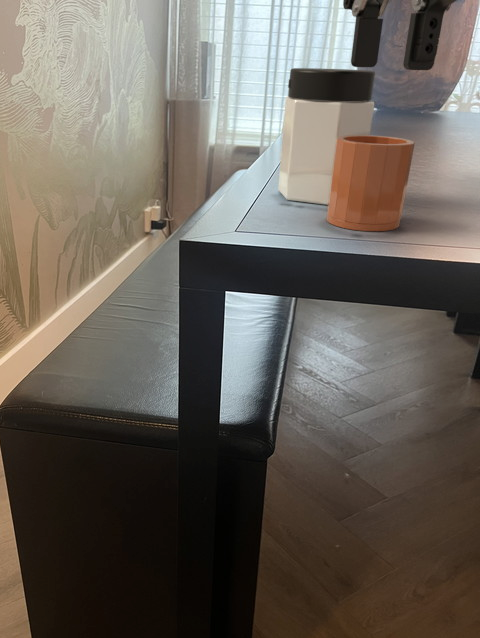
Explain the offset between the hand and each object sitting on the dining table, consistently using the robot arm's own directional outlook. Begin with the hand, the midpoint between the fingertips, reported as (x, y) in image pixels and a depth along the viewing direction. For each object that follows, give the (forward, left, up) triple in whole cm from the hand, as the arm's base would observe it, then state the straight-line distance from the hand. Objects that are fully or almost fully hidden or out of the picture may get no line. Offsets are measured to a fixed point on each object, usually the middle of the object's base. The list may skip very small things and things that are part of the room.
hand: (388, 68), depth 50 cm
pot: (+1, +1, -12) cm, 12 cm away
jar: (0, -10, -13) cm, 16 cm away
